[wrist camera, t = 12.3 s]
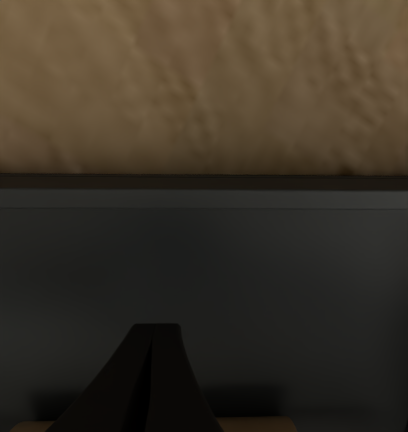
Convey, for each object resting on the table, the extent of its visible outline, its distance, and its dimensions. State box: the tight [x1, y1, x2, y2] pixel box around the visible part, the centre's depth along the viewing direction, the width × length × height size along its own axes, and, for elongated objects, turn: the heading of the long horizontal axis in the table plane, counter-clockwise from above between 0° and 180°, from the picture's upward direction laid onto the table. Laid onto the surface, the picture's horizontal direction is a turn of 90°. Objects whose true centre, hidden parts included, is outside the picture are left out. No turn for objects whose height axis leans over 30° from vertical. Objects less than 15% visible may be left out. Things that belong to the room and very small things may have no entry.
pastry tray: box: [0, 173, 408, 432], centre depth 13 cm, size 21×15×2 cm
